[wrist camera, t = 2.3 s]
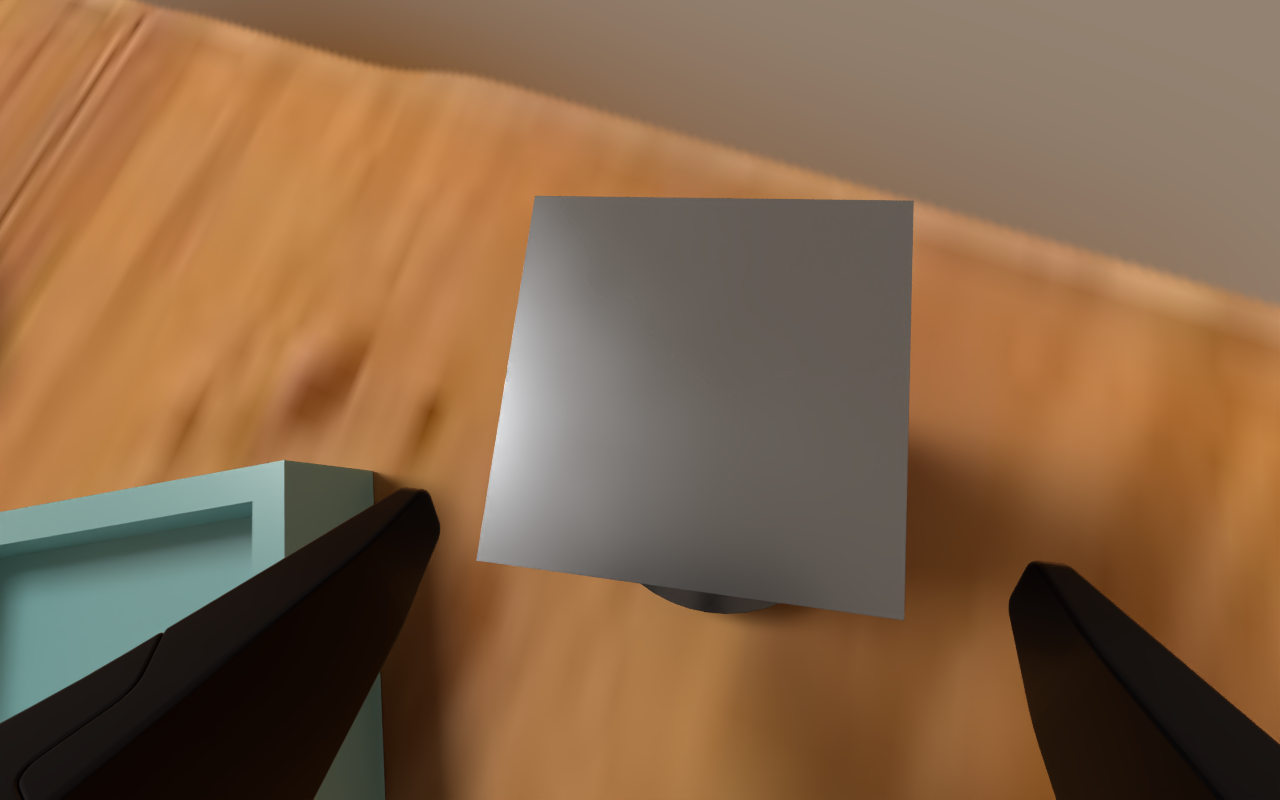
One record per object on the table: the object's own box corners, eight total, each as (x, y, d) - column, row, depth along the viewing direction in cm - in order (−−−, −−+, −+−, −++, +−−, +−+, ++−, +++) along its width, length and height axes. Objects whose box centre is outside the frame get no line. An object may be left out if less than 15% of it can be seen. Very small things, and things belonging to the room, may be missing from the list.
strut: (795, 560, 15) (941, 662, 5) (633, 539, 16) (443, 587, 6) (805, 397, 16) (945, 174, 6) (650, 386, 17) (514, 172, 6)
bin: (393, 1021, 16) (285, 1183, 12) (-60, 1038, 18) (-277, 1182, 14) (372, 471, 20) (284, 460, 16) (-4, 537, 22) (-164, 541, 18)
